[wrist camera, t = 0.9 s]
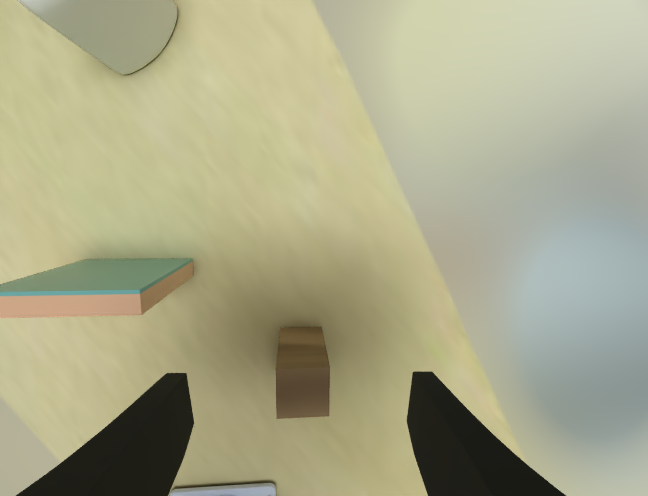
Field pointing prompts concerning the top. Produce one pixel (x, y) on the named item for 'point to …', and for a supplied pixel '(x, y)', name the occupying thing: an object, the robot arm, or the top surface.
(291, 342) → the block
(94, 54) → the eye dropper bottle
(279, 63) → the top surface
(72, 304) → the tile
